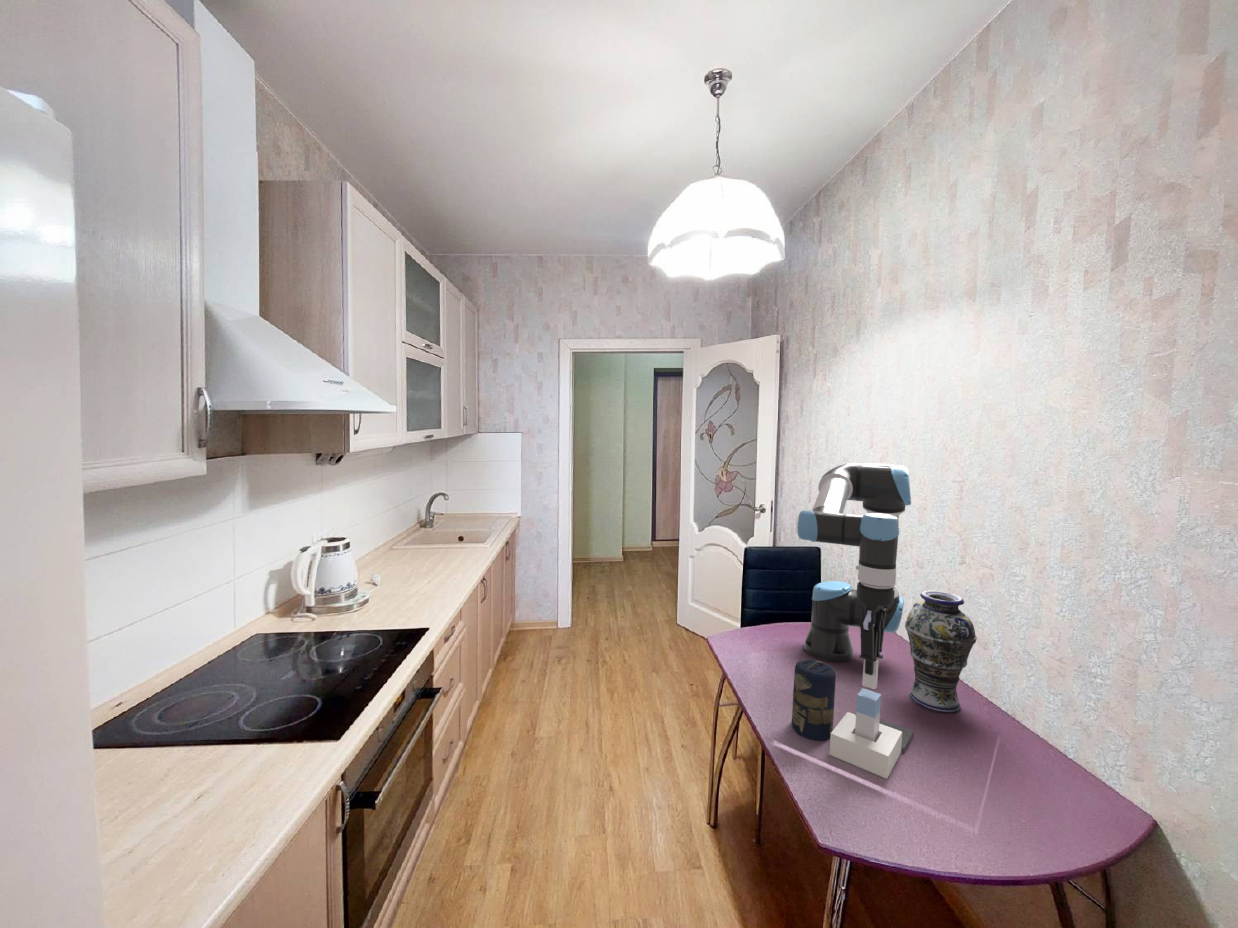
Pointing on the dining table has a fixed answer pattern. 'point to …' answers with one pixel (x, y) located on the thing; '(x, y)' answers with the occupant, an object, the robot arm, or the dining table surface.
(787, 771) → the dining table surface
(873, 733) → the plug
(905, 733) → the gray recessed square plate
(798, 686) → the canister
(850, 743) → the block
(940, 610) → the vase
